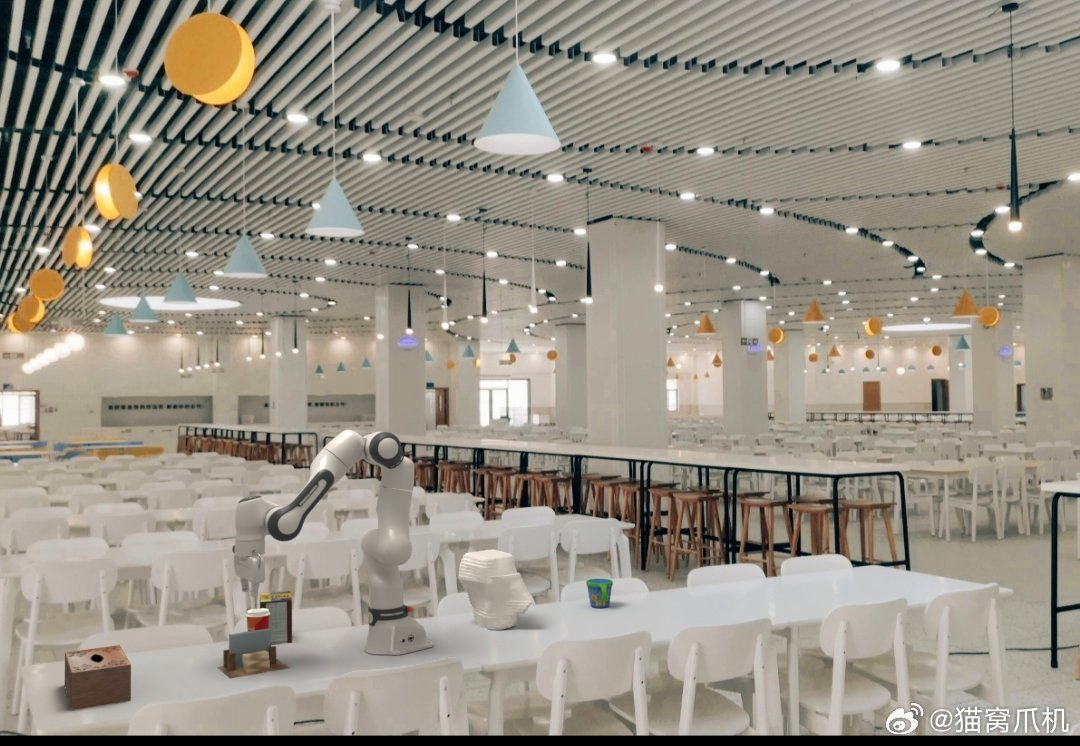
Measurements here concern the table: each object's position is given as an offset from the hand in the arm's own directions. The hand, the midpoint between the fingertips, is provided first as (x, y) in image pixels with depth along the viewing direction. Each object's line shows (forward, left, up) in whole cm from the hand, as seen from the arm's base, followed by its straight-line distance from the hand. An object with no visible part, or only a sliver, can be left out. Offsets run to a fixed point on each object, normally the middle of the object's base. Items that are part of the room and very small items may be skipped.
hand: (249, 594), depth 279 cm
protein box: (-17, -28, -23) cm, 40 cm away
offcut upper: (0, +7, -19) cm, 20 cm away
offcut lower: (0, +7, -22) cm, 23 cm away
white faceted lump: (-88, -1, -23) cm, 91 cm away
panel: (0, 0, -22) cm, 22 cm away
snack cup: (-139, -3, -23) cm, 141 cm away
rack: (0, +4, -23) cm, 23 cm away
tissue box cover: (+43, 0, -23) cm, 48 cm away
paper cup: (-7, -15, -23) cm, 28 cm away
